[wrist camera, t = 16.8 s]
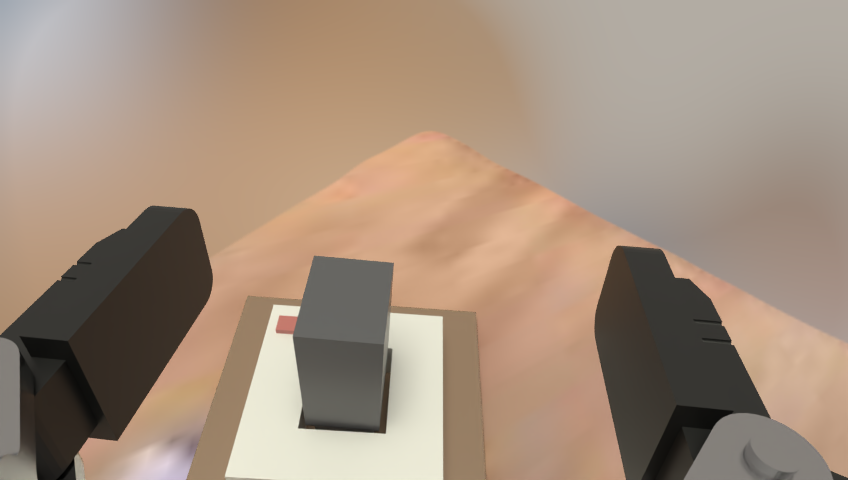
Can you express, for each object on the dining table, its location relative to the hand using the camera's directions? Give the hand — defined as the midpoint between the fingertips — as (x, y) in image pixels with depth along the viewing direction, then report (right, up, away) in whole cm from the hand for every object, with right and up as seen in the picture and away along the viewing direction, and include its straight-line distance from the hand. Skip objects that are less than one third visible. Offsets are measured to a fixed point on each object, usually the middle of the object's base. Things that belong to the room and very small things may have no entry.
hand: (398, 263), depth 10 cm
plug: (-4, -11, +25) cm, 28 cm away
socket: (-5, -12, +26) cm, 29 cm away
